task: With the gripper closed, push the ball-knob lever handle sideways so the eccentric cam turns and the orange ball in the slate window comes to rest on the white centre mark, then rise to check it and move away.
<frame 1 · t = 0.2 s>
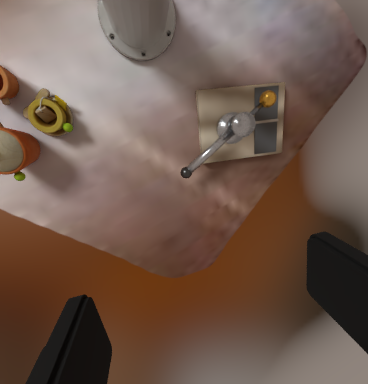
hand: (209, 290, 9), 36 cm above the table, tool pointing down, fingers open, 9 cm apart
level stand: (239, 124, 43), on the table
ball-knob lever handle: (226, 135, 39), point 4 cm above the table, hinge at 35.0°
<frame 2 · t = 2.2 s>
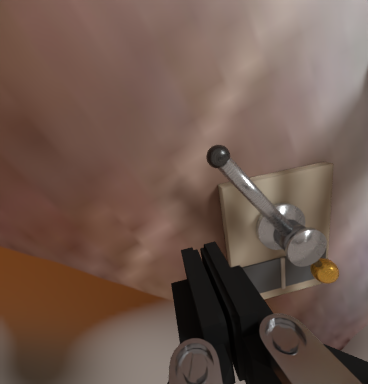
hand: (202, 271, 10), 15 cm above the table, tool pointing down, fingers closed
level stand: (274, 235, 28), on the table
ball-knob lever handle: (279, 222, 23), point 4 cm above the table, hinge at 35.0°
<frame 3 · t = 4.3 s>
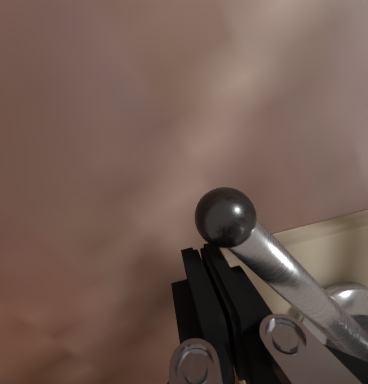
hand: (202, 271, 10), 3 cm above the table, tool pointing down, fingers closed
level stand: (316, 321, 16), on the table
ball-knob lever handle: (349, 336, 11), point 4 cm above the table, hinge at 34.4°, touching gripper
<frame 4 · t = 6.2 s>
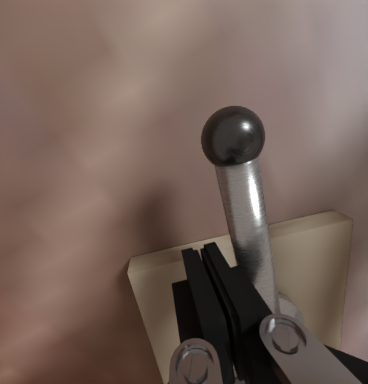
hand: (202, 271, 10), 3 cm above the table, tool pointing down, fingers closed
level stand: (246, 329, 16), on the table
ball-knob lever handle: (267, 336, 11), point 4 cm above the table, hinge at 4.9°, touching gripper
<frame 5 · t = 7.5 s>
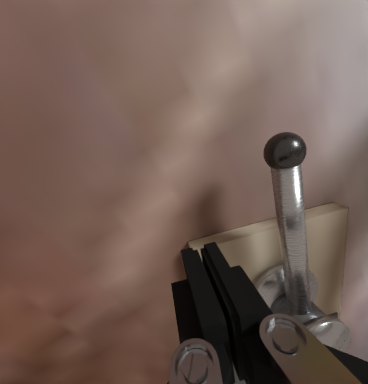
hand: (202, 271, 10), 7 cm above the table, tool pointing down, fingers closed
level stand: (269, 300, 20), on the table
ball-knob lever handle: (297, 291, 15), point 4 cm above the table, hinge at 4.7°
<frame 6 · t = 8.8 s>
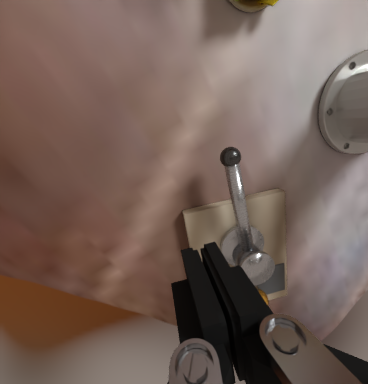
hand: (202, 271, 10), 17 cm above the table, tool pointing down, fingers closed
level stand: (237, 253, 31), on the table
ball-knob lever handle: (245, 239, 25), point 4 cm above the table, hinge at 4.7°
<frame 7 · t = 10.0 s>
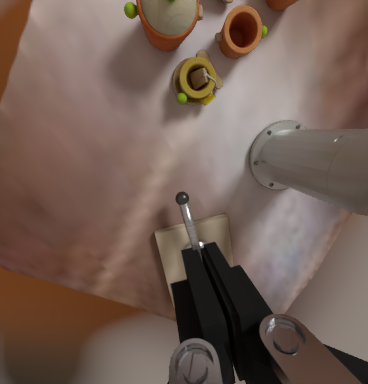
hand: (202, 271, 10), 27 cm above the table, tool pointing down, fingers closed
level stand: (197, 260, 42), on the table
ball-knob lever handle: (197, 251, 36), point 4 cm above the table, hinge at 4.7°
toy tea set: (217, 18, 31), on the table
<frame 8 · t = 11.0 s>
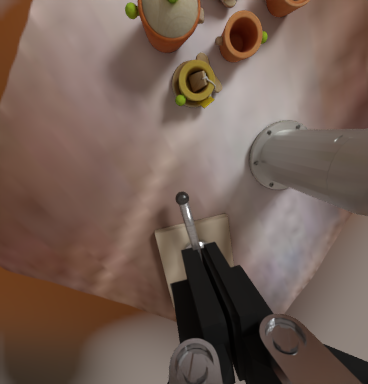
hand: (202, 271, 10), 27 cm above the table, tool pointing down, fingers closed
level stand: (197, 260, 42), on the table
ball-knob lever handle: (197, 251, 36), point 4 cm above the table, hinge at 4.7°
toy tea set: (218, 22, 31), on the table
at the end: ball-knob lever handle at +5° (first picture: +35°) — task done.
